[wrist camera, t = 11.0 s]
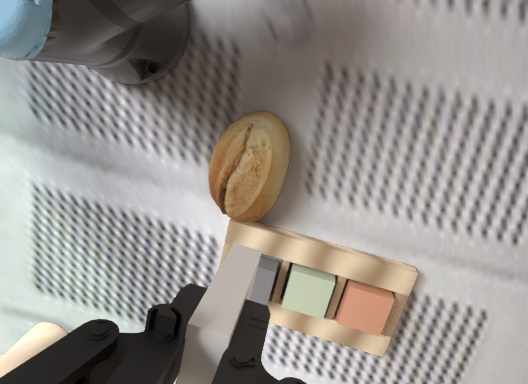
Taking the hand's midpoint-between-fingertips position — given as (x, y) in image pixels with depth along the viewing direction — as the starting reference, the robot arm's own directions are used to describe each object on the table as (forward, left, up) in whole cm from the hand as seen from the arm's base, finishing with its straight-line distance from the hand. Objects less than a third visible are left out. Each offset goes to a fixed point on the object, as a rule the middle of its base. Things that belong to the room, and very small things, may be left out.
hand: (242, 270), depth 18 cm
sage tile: (+7, -17, -30) cm, 35 cm away
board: (+7, -17, -30) cm, 36 cm away
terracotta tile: (+15, -17, -30) cm, 38 cm away
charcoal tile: (-1, -17, -28) cm, 33 cm away
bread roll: (-5, -2, -31) cm, 31 cm away
